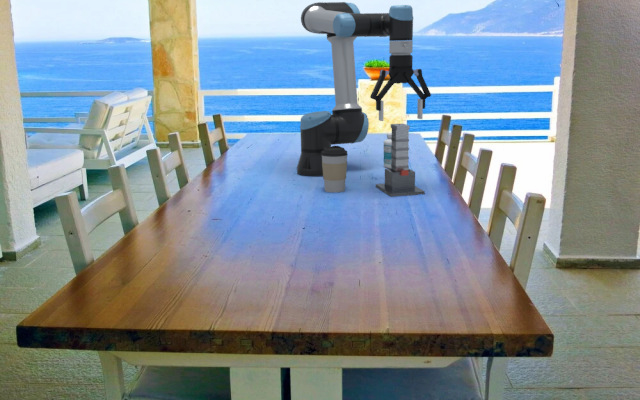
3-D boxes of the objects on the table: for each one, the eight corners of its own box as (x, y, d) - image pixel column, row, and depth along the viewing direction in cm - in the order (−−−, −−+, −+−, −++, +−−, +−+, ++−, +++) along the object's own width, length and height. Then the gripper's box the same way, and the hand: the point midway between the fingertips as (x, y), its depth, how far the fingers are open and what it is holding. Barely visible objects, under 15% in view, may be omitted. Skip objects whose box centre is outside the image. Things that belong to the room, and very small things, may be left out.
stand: (390, 196, 225) (390, 173, 224) (375, 186, 241) (375, 164, 239) (424, 194, 228) (425, 171, 226) (408, 184, 243) (408, 163, 241)
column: (396, 189, 231) (397, 126, 226) (390, 185, 237) (390, 124, 232) (408, 188, 232) (409, 125, 227) (402, 184, 238) (403, 123, 233)
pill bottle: (402, 165, 280) (402, 132, 277) (402, 168, 273) (402, 134, 270) (383, 165, 281) (383, 132, 278) (383, 168, 274) (383, 135, 270)
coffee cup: (345, 193, 231) (345, 149, 228) (319, 192, 233) (318, 149, 230) (349, 187, 240) (349, 145, 236) (324, 187, 242) (323, 144, 238)
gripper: (367, 55, 218) (367, 122, 222) (441, 53, 223) (440, 119, 228) (360, 55, 225) (361, 120, 229) (432, 53, 230) (431, 116, 235)
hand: (400, 119), depth 229 cm, fingers open, 13 cm apart
